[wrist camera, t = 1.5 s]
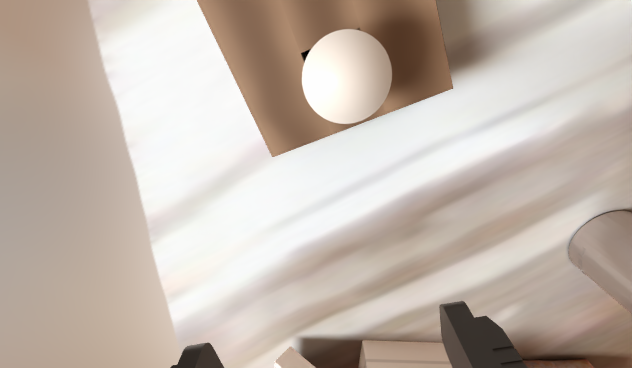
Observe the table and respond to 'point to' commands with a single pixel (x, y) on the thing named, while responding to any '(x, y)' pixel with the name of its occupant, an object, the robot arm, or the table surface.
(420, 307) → the table surface
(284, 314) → the table surface
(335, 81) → the white rounded piece
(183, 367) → the robot arm
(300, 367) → the pizza boxes
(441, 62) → the walnut block
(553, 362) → the food item
